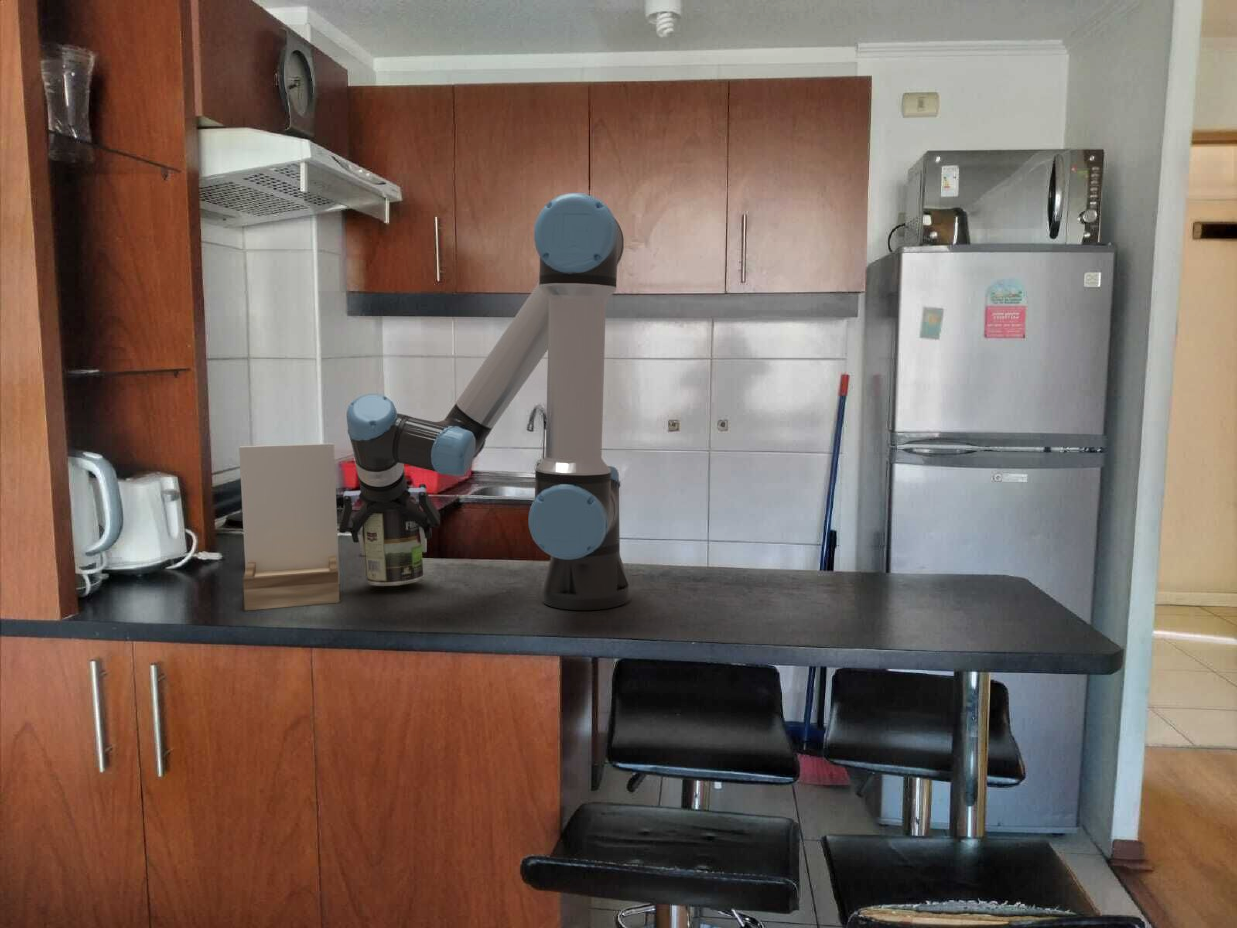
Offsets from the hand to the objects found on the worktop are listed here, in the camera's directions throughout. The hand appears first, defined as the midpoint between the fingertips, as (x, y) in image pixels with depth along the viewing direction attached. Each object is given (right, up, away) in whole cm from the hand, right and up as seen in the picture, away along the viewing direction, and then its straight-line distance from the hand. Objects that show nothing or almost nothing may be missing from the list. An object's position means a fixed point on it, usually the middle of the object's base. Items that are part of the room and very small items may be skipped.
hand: (394, 547), depth 171 cm
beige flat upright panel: (-18, -7, 0) cm, 20 cm away
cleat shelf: (-16, -8, -8) cm, 19 cm away
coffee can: (+1, -6, -2) cm, 6 cm away
